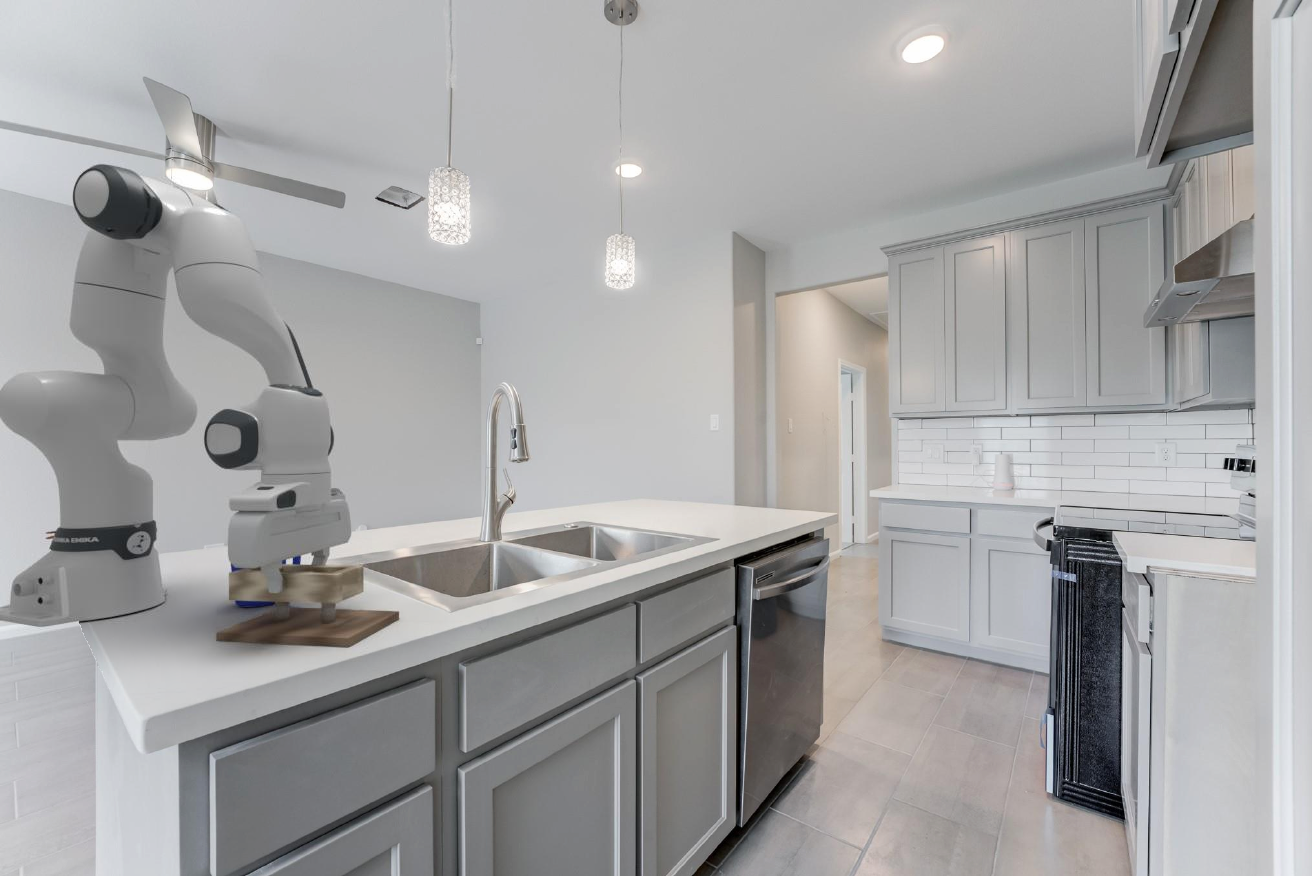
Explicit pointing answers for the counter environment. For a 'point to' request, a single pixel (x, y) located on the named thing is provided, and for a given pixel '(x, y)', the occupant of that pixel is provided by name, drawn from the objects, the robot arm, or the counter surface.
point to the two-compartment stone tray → (299, 584)
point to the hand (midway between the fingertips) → (297, 585)
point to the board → (309, 626)
